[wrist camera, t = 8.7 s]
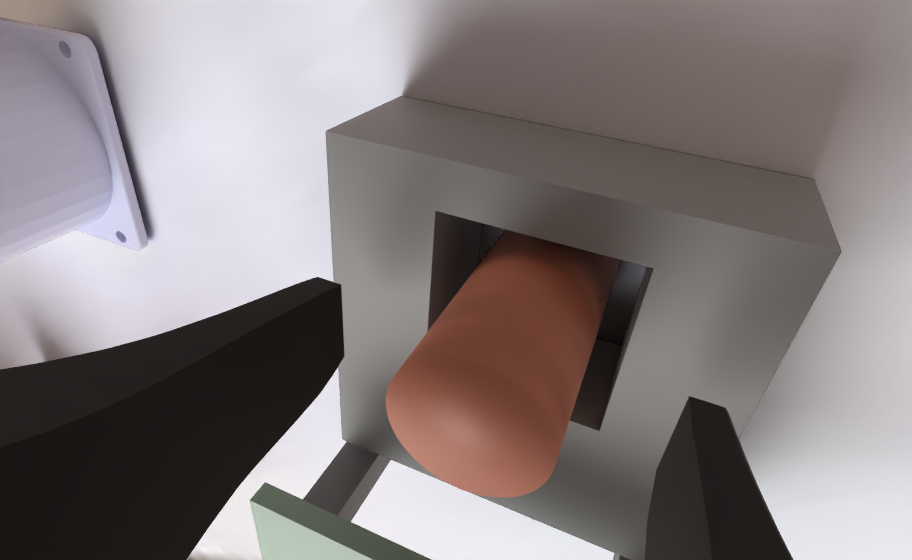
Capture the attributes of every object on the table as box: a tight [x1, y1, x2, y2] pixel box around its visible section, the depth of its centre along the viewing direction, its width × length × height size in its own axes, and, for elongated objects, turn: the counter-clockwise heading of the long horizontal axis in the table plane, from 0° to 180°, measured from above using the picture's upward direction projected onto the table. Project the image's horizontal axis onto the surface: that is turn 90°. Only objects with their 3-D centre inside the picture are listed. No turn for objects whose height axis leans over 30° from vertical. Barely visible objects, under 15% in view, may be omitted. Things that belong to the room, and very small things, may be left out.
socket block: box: [250, 96, 841, 560], centre depth 14 cm, size 11×12×7 cm
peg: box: [386, 230, 620, 498], centre depth 12 cm, size 3×3×7 cm
